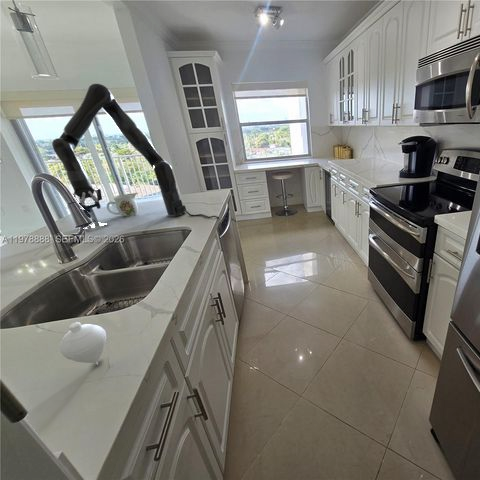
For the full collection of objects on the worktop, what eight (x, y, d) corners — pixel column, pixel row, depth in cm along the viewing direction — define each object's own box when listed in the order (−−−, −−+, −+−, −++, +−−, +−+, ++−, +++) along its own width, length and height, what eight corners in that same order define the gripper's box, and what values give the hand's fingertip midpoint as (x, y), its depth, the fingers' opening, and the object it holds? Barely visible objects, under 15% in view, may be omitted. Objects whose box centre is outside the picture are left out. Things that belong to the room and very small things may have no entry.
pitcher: (112, 217, 166) (103, 196, 160) (144, 211, 175) (137, 191, 169) (111, 221, 158) (102, 200, 152) (145, 215, 167) (138, 194, 161)
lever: (98, 206, 142) (95, 202, 142) (87, 209, 138) (84, 205, 138) (91, 212, 149) (89, 208, 149) (81, 214, 145) (79, 211, 145)
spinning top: (68, 373, 58) (41, 333, 53) (104, 347, 64) (83, 309, 59) (89, 383, 55) (63, 342, 50) (124, 355, 61) (104, 316, 56)
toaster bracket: (107, 225, 151) (99, 206, 146) (89, 231, 144) (80, 211, 139) (97, 223, 156) (89, 204, 152) (79, 228, 149) (70, 209, 144)
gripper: (64, 182, 127) (80, 214, 134) (98, 176, 138) (110, 206, 145) (58, 181, 130) (73, 213, 137) (91, 176, 141) (104, 205, 149)
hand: (92, 209), depth 141 cm, fingers closed on lever, 5 cm apart
